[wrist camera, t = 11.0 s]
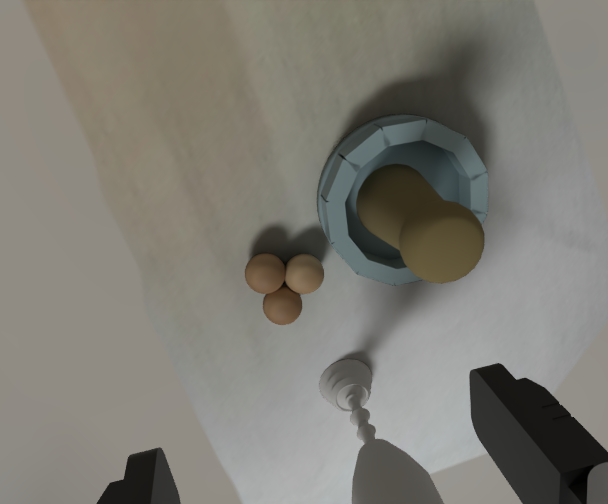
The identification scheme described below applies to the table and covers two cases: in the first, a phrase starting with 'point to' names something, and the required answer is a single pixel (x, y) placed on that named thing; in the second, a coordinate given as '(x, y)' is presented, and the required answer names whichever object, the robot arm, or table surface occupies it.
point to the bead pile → (270, 276)
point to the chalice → (375, 444)
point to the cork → (420, 223)
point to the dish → (385, 151)
